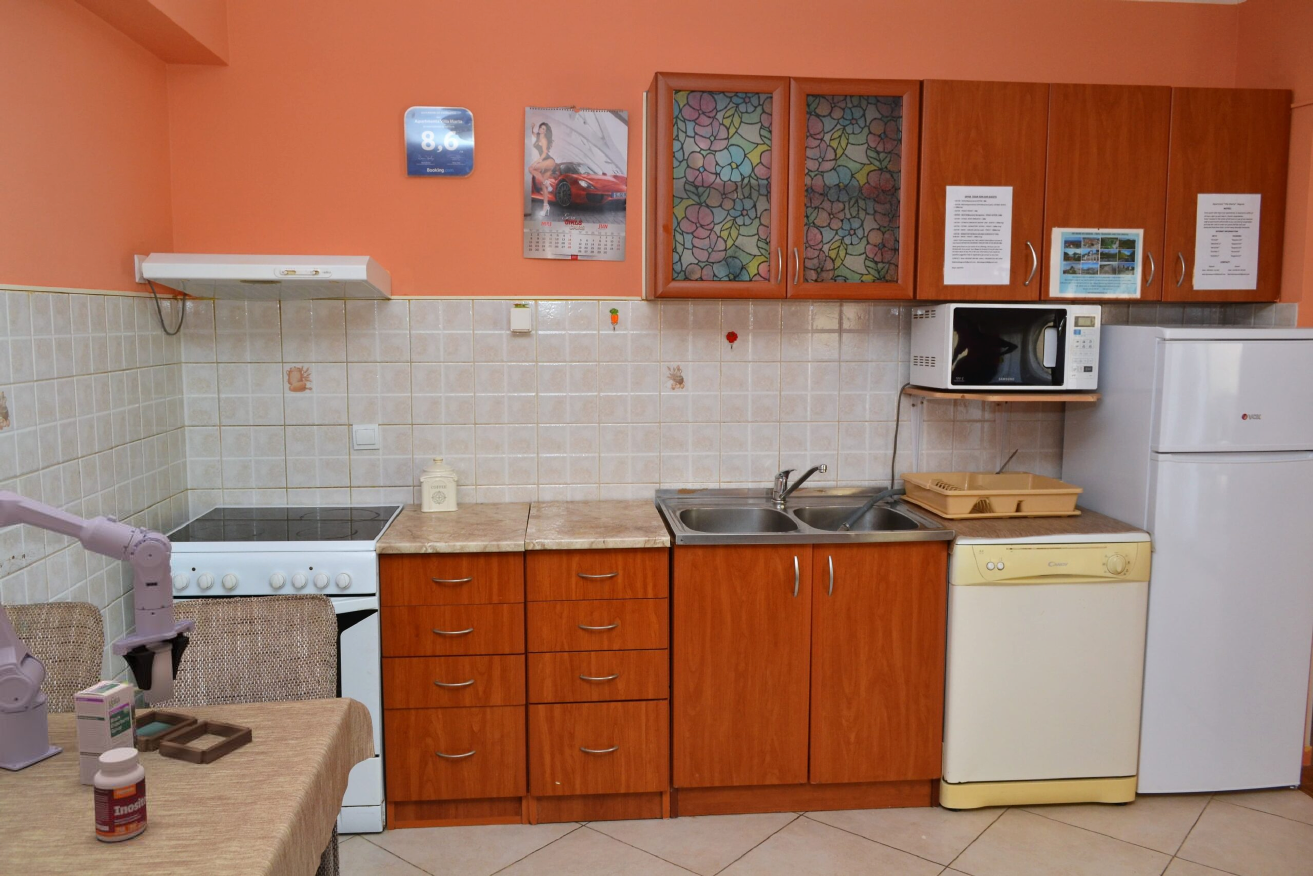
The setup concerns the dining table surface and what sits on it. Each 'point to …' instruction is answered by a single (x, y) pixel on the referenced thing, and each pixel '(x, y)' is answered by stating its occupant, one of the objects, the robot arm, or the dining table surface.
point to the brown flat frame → (187, 736)
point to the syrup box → (104, 723)
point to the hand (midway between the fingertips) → (157, 684)
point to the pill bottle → (119, 795)
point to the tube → (160, 674)
